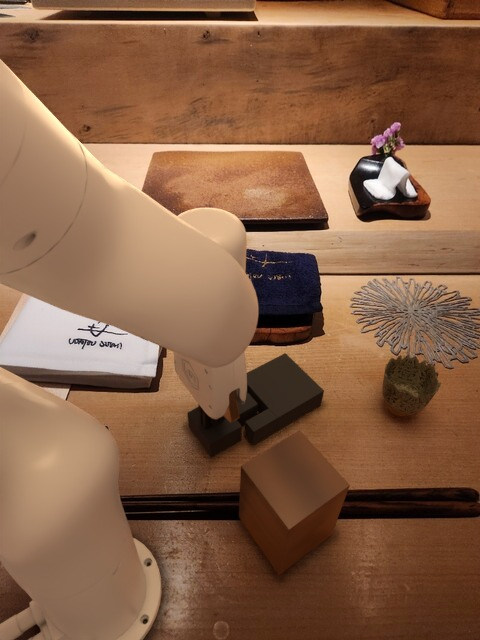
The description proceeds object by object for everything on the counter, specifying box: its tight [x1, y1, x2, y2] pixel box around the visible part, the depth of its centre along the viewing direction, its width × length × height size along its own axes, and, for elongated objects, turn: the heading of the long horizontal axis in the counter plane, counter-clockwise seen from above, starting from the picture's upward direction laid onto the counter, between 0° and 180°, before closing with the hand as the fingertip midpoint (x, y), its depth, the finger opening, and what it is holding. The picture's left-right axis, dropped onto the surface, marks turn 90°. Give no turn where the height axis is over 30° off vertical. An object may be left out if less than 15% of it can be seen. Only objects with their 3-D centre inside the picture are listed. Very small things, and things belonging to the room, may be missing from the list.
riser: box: [238, 429, 351, 576], centre depth 51 cm, size 8×8×12 cm
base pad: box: [244, 352, 325, 447], centre depth 68 cm, size 13×9×4 cm
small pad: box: [187, 393, 258, 459], centre depth 64 cm, size 9×6×4 cm, turn 124°
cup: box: [381, 354, 442, 418], centre depth 66 cm, size 8×7×8 cm
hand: (212, 420), depth 62 cm, fingers closed
